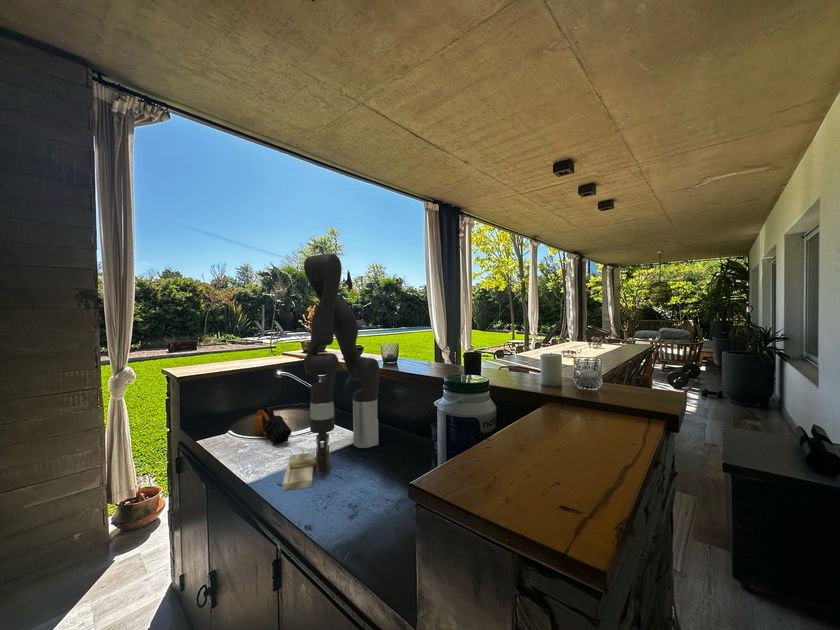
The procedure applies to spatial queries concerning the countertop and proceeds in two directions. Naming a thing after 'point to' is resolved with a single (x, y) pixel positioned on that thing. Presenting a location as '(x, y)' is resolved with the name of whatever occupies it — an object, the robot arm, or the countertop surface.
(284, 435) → the tool
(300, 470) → the board
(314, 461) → the gauge
